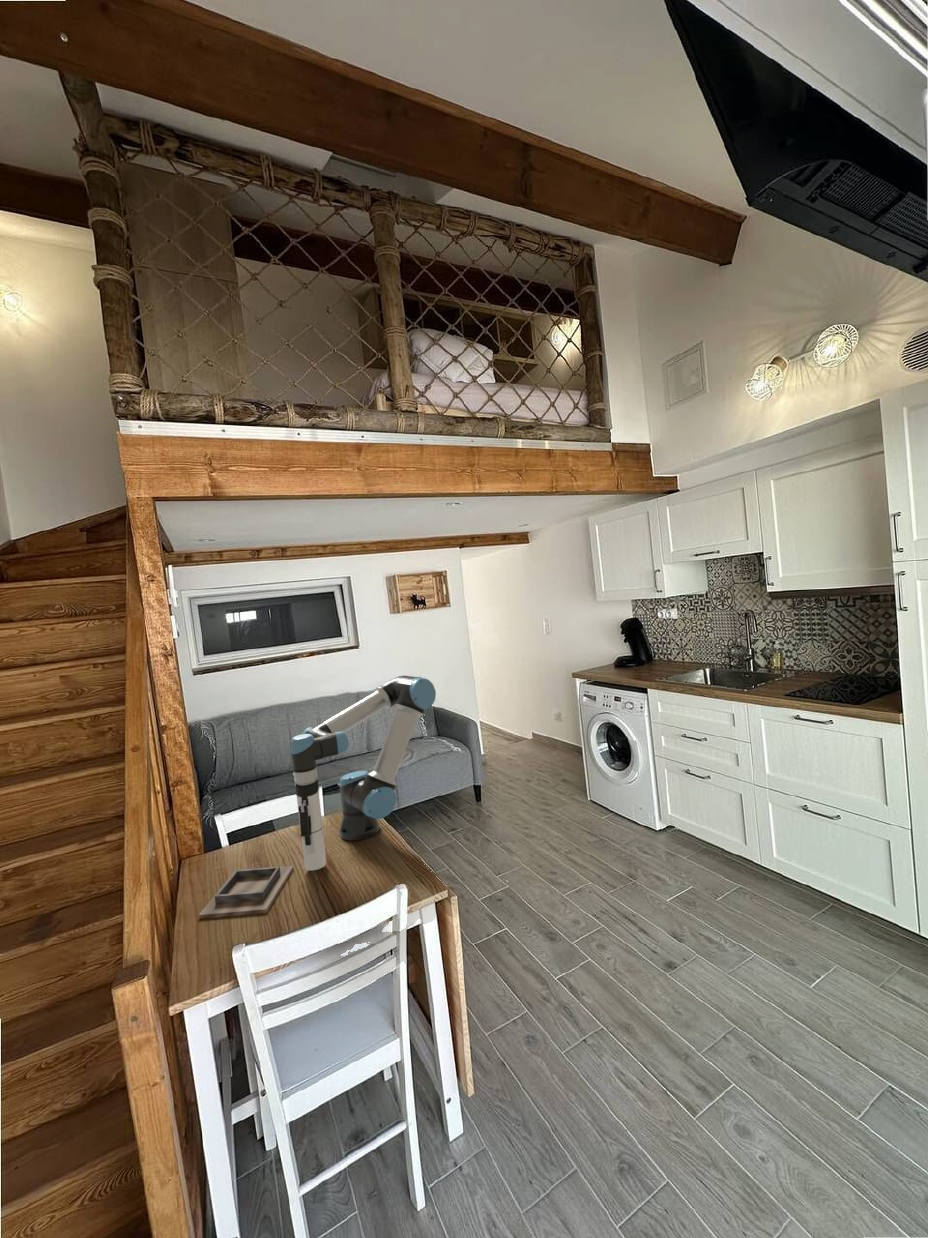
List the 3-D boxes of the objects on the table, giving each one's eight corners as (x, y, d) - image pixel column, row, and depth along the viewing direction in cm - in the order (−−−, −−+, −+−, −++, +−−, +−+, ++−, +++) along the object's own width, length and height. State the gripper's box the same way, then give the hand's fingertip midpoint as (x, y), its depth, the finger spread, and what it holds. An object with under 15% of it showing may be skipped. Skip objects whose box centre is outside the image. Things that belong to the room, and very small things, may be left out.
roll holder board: (293, 869, 172) (292, 858, 172) (266, 913, 149) (265, 901, 148) (235, 874, 172) (234, 863, 172) (199, 919, 148) (197, 906, 148)
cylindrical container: (320, 870, 166) (312, 797, 165) (300, 870, 168) (292, 797, 167) (330, 859, 173) (322, 788, 172) (311, 858, 175) (303, 788, 174)
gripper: (304, 771, 179) (311, 834, 180) (284, 794, 159) (292, 864, 160) (325, 769, 179) (332, 832, 180) (308, 792, 159) (316, 862, 160)
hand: (313, 847), depth 170 cm, fingers closed on cylindrical container, 7 cm apart
